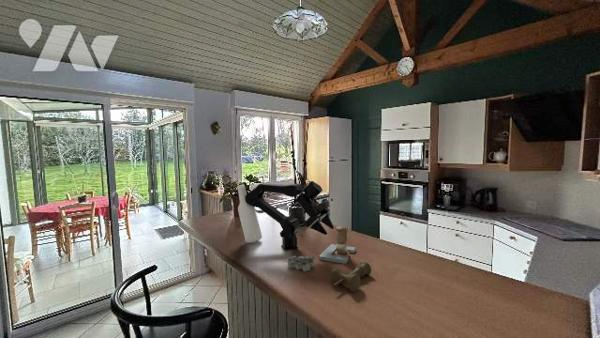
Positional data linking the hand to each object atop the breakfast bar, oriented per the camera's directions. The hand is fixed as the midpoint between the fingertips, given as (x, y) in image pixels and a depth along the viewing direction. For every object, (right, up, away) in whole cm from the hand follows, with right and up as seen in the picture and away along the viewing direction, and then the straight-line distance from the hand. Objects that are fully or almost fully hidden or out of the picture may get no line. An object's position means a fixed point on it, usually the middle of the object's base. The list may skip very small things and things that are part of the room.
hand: (330, 231), depth 123 cm
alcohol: (-38, -9, +19) cm, 43 cm away
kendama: (+5, -13, -26) cm, 30 cm away
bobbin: (+5, -11, -2) cm, 12 cm away
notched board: (+4, -11, -1) cm, 11 cm away
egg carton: (-13, -12, -12) cm, 22 cm away
